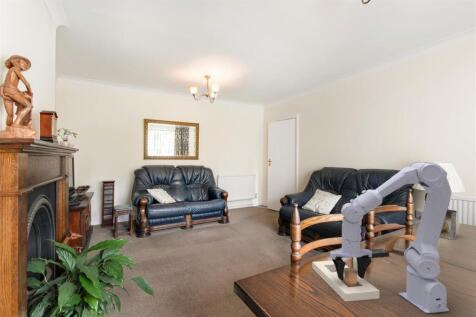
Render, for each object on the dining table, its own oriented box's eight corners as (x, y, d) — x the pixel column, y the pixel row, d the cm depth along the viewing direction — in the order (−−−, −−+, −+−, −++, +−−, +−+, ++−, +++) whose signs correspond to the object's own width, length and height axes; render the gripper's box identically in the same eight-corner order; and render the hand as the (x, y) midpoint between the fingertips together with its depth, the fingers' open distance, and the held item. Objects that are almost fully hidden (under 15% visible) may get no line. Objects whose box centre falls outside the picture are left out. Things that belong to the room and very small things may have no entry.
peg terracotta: (359, 292, 77) (359, 272, 77) (348, 293, 76) (348, 273, 76) (352, 285, 81) (352, 267, 81) (341, 286, 80) (341, 267, 80)
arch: (433, 270, 93) (434, 245, 93) (384, 251, 111) (384, 231, 111) (441, 267, 95) (441, 243, 95) (391, 249, 113) (391, 229, 113)
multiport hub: (355, 255, 106) (355, 250, 106) (382, 253, 109) (382, 248, 109) (362, 259, 102) (362, 254, 102) (389, 257, 105) (389, 252, 105)
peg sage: (366, 272, 90) (366, 255, 90) (357, 272, 90) (357, 256, 90) (359, 267, 94) (359, 251, 94) (350, 267, 94) (351, 252, 93)
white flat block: (379, 298, 73) (379, 290, 73) (345, 301, 71) (345, 293, 71) (339, 266, 95) (339, 260, 95) (312, 267, 93) (312, 261, 93)
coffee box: (431, 235, 135) (431, 208, 135) (437, 233, 137) (437, 207, 137) (450, 240, 126) (451, 211, 126) (456, 238, 129) (456, 210, 129)
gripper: (362, 233, 83) (361, 270, 83) (325, 235, 81) (324, 273, 81) (376, 240, 76) (376, 281, 76) (336, 242, 74) (336, 284, 74)
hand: (350, 278), depth 78 cm, fingers open, 7 cm apart
